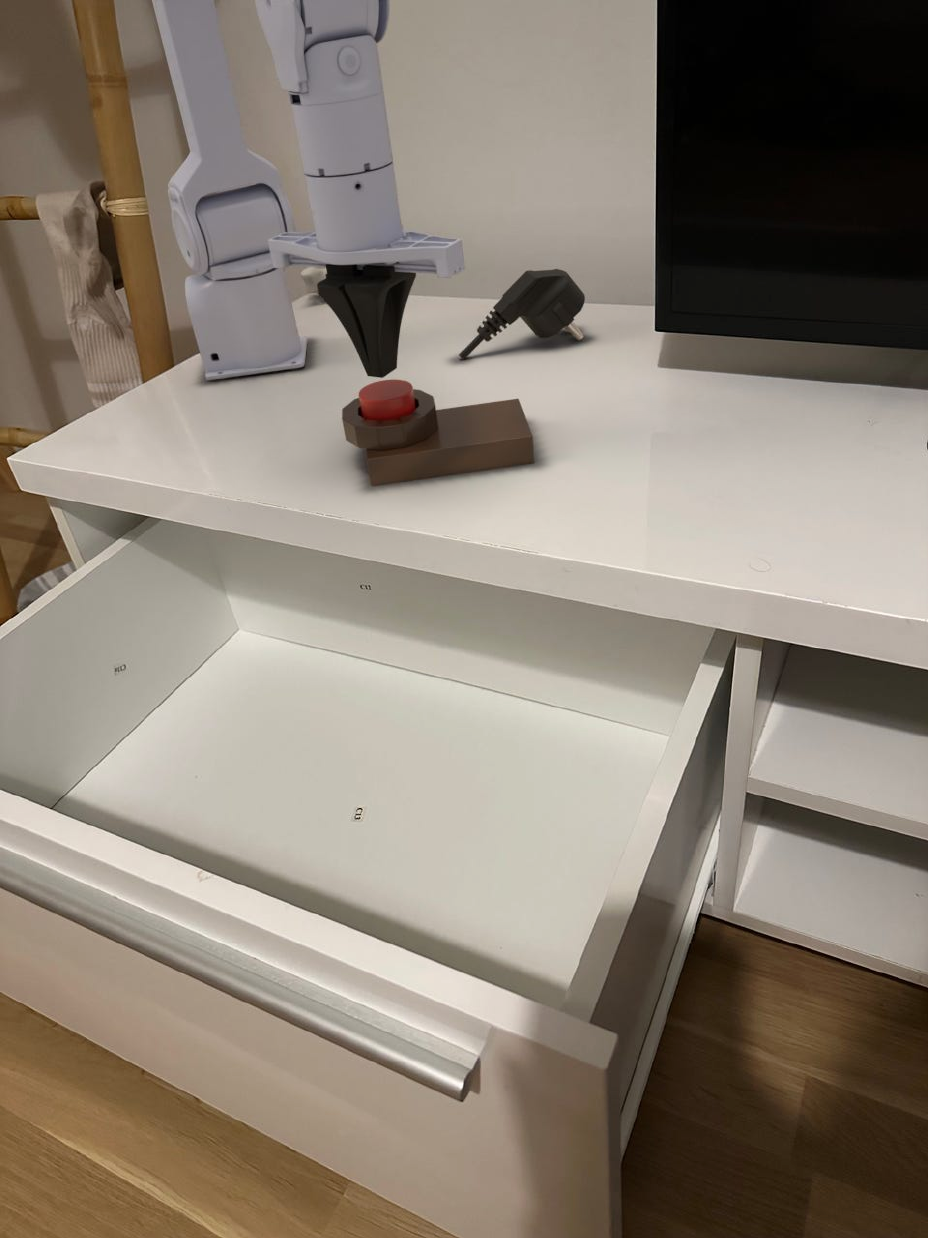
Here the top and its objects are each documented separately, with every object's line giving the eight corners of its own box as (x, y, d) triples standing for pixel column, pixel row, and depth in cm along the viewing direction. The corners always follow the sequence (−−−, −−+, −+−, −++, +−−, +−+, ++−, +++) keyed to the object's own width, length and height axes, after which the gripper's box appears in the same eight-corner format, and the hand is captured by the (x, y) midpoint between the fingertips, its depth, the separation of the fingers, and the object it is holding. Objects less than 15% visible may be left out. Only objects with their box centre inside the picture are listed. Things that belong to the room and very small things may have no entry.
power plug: (447, 341, 87) (540, 246, 84) (496, 393, 91) (586, 304, 89) (464, 361, 82) (562, 260, 80) (515, 414, 87) (610, 320, 84)
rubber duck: (367, 291, 106) (355, 217, 101) (324, 309, 102) (310, 233, 98) (335, 286, 109) (322, 214, 104) (293, 303, 105) (277, 229, 101)
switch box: (351, 489, 67) (341, 439, 65) (351, 442, 73) (342, 395, 71) (534, 463, 67) (531, 412, 65) (518, 419, 74) (515, 371, 71)
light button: (362, 426, 67) (358, 404, 66) (362, 405, 70) (358, 383, 69) (417, 419, 67) (413, 396, 66) (414, 398, 70) (411, 375, 69)
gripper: (478, 151, 58) (496, 360, 66) (297, 154, 65) (333, 343, 73) (420, 178, 53) (447, 399, 61) (231, 178, 60) (278, 377, 68)
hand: (382, 371), depth 67 cm, fingers closed
